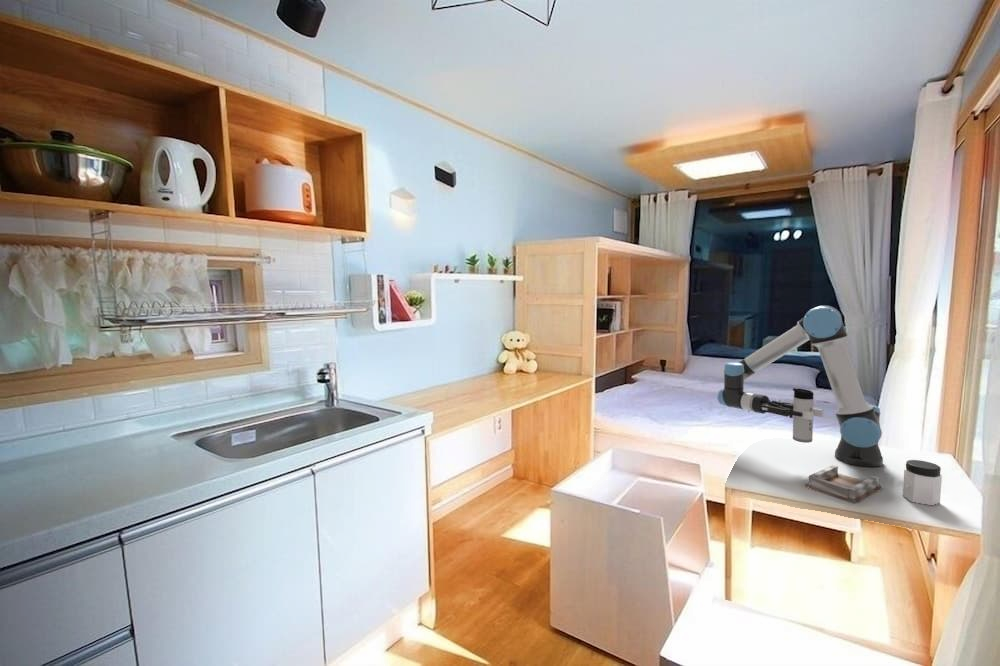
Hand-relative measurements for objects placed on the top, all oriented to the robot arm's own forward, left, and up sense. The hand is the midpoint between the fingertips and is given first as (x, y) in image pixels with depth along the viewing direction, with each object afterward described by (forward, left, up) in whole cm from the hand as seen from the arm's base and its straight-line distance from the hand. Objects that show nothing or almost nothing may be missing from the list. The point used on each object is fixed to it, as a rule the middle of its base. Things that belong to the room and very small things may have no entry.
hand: (817, 414), depth 166 cm
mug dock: (-1, +13, -23) cm, 26 cm away
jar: (-19, +23, -23) cm, 37 cm away
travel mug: (+2, -4, -11) cm, 12 cm away
